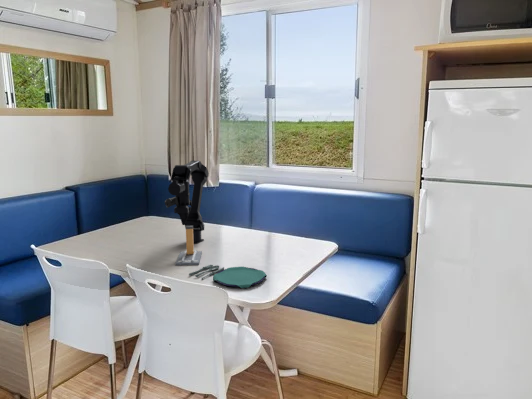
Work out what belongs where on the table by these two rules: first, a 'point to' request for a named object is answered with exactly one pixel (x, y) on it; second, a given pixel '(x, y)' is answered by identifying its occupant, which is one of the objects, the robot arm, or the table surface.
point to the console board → (189, 258)
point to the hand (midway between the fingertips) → (184, 223)
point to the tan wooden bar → (189, 240)
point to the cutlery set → (234, 276)
